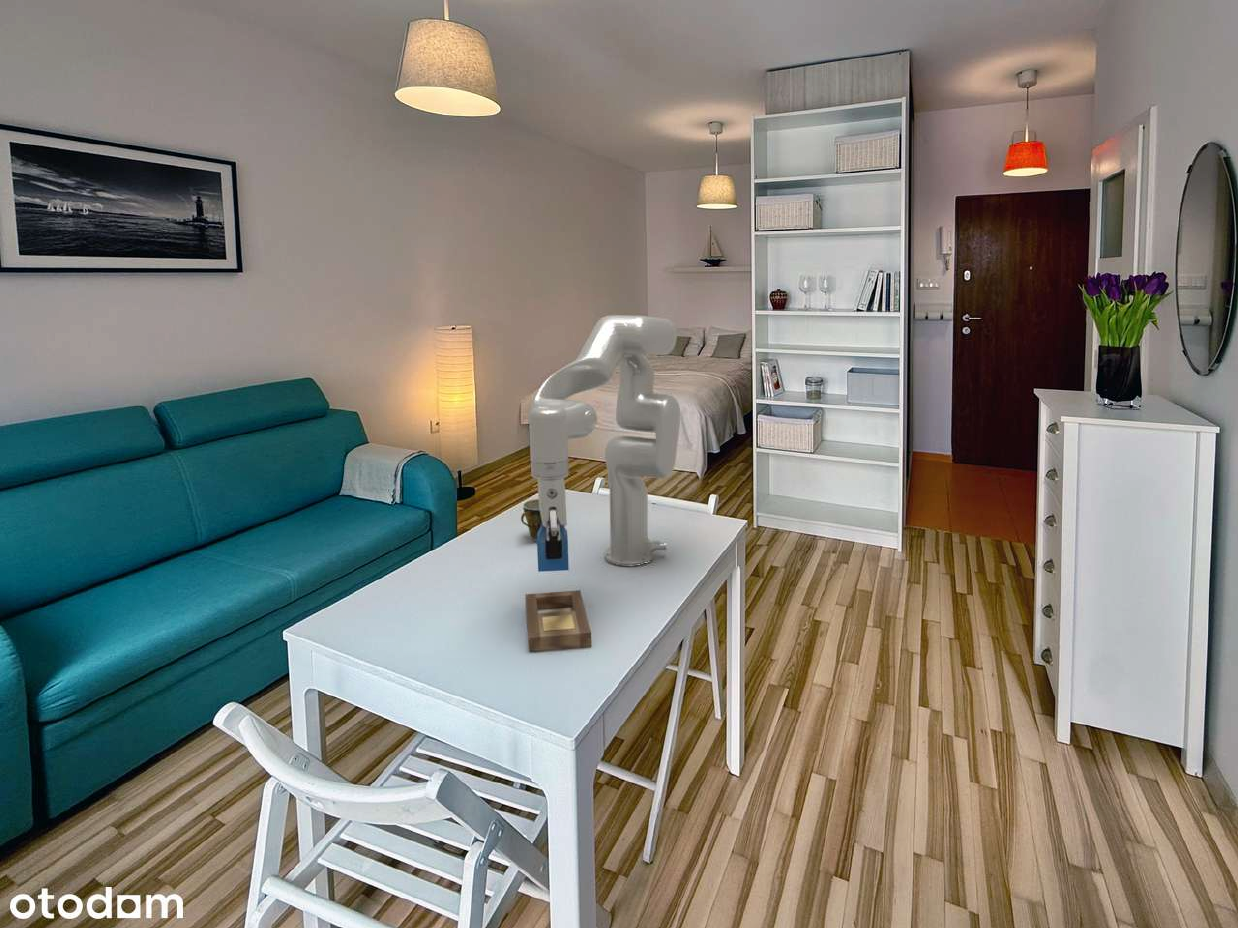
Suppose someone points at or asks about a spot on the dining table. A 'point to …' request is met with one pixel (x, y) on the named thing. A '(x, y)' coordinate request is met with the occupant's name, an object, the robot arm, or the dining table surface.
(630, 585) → the dining table surface
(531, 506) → the ceramic cup
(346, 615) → the dining table surface
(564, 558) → the perfume bottle
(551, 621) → the frame
